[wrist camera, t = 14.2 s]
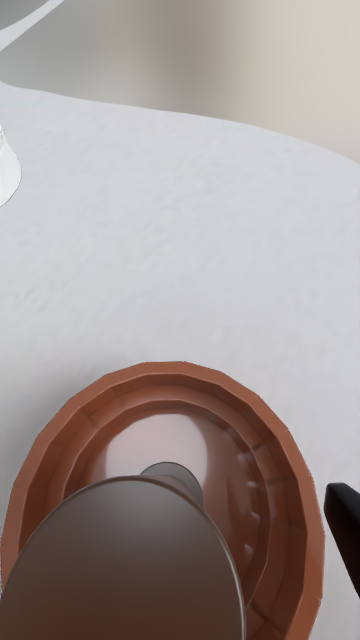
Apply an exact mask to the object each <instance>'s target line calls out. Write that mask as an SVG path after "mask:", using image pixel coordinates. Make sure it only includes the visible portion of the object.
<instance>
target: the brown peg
mask: <svg viewBox="0 0 360 640" xmlns="http://www.w3.org/2000/svg"><path fill="white" fill-rule="evenodd" d="M0 640H246V616H245V606H244V598H243V593H242V588H241V584H240V579H239V575H238V572H237V569H236V566H235V563H234V560H233V557H232V555H231V553H230V550H229V548H228V546H227V543H226V541H225V540H224V538H223V536H222V534H221V533H220V531H219V529H218V527H217V526H216V525H215V523H214V522H213V521H212V519H211V518H210V516H209V515H208V514H207V512H206V511H205V510H204V497H203V492H202V489H201V487H200V484H199V482H198V481H197V479H196V477H195V476H194V475H193V474H192V473H191V472H190V471H189V470H188V469H187V468H186V467H184V466H182V465H180V464H178V463H174V462H160V463H156V464H153V465H151V466H149V467H148V468H146V469H145V470H144V471H143V472H142V473H141V474H140V475H130V476H117V477H112V478H107V479H104V480H101V481H98V482H95V483H92V484H90V485H88V486H86V487H84V488H82V489H80V490H78V491H77V492H75V493H74V494H72V495H71V496H69V497H68V498H66V499H65V500H64V501H63V502H62V503H60V504H59V505H58V506H57V507H56V508H55V509H53V510H52V511H51V513H50V514H49V515H48V516H47V517H46V518H45V519H44V520H43V521H42V522H41V523H40V525H39V526H38V527H37V528H36V530H35V531H34V532H33V534H32V535H31V536H30V538H29V539H28V541H27V543H26V544H25V546H24V547H23V549H22V551H21V552H20V554H19V556H18V558H17V560H16V562H15V564H14V566H13V568H12V570H11V572H10V574H9V577H8V580H7V582H6V585H5V587H4V590H3V593H2V596H1V600H0Z"/></svg>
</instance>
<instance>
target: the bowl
mask: <svg viewBox="0 0 360 640" xmlns="http://www.w3.org/2000/svg"><path fill="white" fill-rule="evenodd" d="M160 462H174V463H178V464H180V465H182V466H184V467H186V468H187V469H188V470H189V471H190V472H191V473H192V474H193V475H194V476H195V477H196V479H197V481H198V482H199V484H200V487H201V489H202V492H203V497H204V510H205V511H206V512H207V514H208V515H209V516H210V518H211V519H212V521H213V522H214V523H215V525H216V526H217V527H218V529H219V531H220V533H221V534H222V536H223V538H224V540H225V541H226V543H227V546H228V548H229V550H230V553H231V555H232V557H233V560H234V563H235V566H236V569H237V572H238V575H239V579H240V584H241V588H242V593H243V598H244V606H245V616H246V640H308V639H309V636H310V633H311V630H312V627H313V624H314V621H315V618H316V615H317V612H318V609H319V606H320V603H321V599H322V593H323V571H324V549H325V535H324V534H325V532H324V527H323V523H322V518H321V513H320V509H319V504H318V499H317V495H316V490H315V485H314V481H313V477H311V473H310V471H309V469H308V467H307V465H306V463H305V461H304V459H303V457H302V455H301V453H300V451H299V449H298V447H297V445H296V443H295V441H294V439H293V437H292V435H291V433H290V431H289V429H288V428H287V427H286V426H285V424H284V423H283V422H282V421H281V420H280V419H279V418H278V417H277V415H276V414H275V413H274V412H273V411H272V410H271V409H270V408H269V407H268V405H267V404H266V403H265V402H264V401H263V400H262V399H261V398H260V396H259V395H257V394H256V393H254V392H253V391H251V390H249V389H248V388H246V387H245V386H243V385H242V384H240V383H238V382H237V381H235V380H234V379H232V378H231V377H229V376H227V375H226V374H224V373H222V372H221V371H217V370H214V369H210V368H206V367H203V366H199V365H196V364H192V363H189V362H185V361H184V362H182V361H174V362H145V363H140V364H137V365H134V366H131V367H128V368H125V369H122V370H119V371H116V372H113V373H109V374H107V375H104V376H103V377H101V378H100V379H98V380H97V381H95V382H94V383H93V384H91V385H90V386H88V387H87V388H85V389H84V390H82V391H81V392H79V393H78V394H76V395H75V396H73V397H72V398H70V399H69V400H68V401H67V402H66V404H65V405H64V406H63V407H62V408H61V409H60V411H59V412H58V413H57V414H56V415H55V416H54V418H53V419H52V420H51V421H50V422H49V423H48V425H47V426H46V427H45V428H44V429H43V430H42V432H41V433H40V434H39V435H38V437H37V438H36V440H35V442H34V444H33V446H32V448H31V450H30V452H29V454H28V456H27V458H26V460H25V462H24V464H23V466H22V468H21V470H20V472H19V474H18V476H17V478H16V480H15V482H14V484H13V486H14V487H13V488H12V491H11V496H10V501H9V505H8V510H7V515H6V520H5V524H4V529H3V534H2V538H1V543H0V545H1V547H0V559H1V579H2V593H3V590H4V587H5V585H6V582H7V580H8V577H9V574H10V572H11V570H12V568H13V566H14V564H15V562H16V560H17V558H18V556H19V554H20V552H21V551H22V549H23V547H24V546H25V544H26V543H27V541H28V539H29V538H30V536H31V535H32V534H33V532H34V531H35V530H36V528H37V527H38V526H39V525H40V523H41V522H42V521H43V520H44V519H45V518H46V517H47V516H48V515H49V514H50V513H51V511H52V510H53V509H55V508H56V507H57V506H58V505H59V504H60V503H62V502H63V501H64V500H65V499H66V498H68V497H69V496H71V495H72V494H74V493H75V492H77V491H78V490H80V489H82V488H84V487H86V486H88V485H90V484H92V483H95V482H98V481H101V480H104V479H107V478H112V477H117V476H130V475H140V474H141V473H142V472H143V471H144V470H145V469H146V468H148V467H149V466H151V465H153V464H156V463H160Z"/></svg>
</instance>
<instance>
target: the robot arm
mask: <svg viewBox="0 0 360 640" xmlns="http://www.w3.org/2000/svg"><path fill="white" fill-rule="evenodd" d="M324 513H325V517H326V520H327V522H328V525H329V527H330V530H331V532H332V534H333V537H334V539H335V542H336V544H337V547H338V549H339V552H340V554H341V556H342V559H343V561H344V564H345V566H346V569H347V571H348V574H349V576H350V578H351V581H352V583H353V585H354V588H355V590H356V592H357V594H358V596H359V598H360V494H359V493H358V492H357V491H355V490H354V489H352V488H351V487H350V486H348V485H347V484H345V483H330V484H328V485H327V487H326V494H325V502H324Z"/></svg>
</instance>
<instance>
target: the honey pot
mask: <svg viewBox="0 0 360 640" xmlns="http://www.w3.org/2000/svg"><path fill="white" fill-rule="evenodd" d="M21 178H22V173H21V165H20V163H19V161H18V159H17V157H16V155H15V153H14V151H13V149H12V147H11V145H10V143H9V141H8V139H7V137H6V135H5V133H4V132H3V130H2V128H1V126H0V207H1V206H2V205H3V204H4V203H6V202H7V201H8V200H9V199H10V197H11V196H12V195H13V193H14V192H15V191H16V190H17V188H18V185H19V183H20V180H21Z"/></svg>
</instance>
